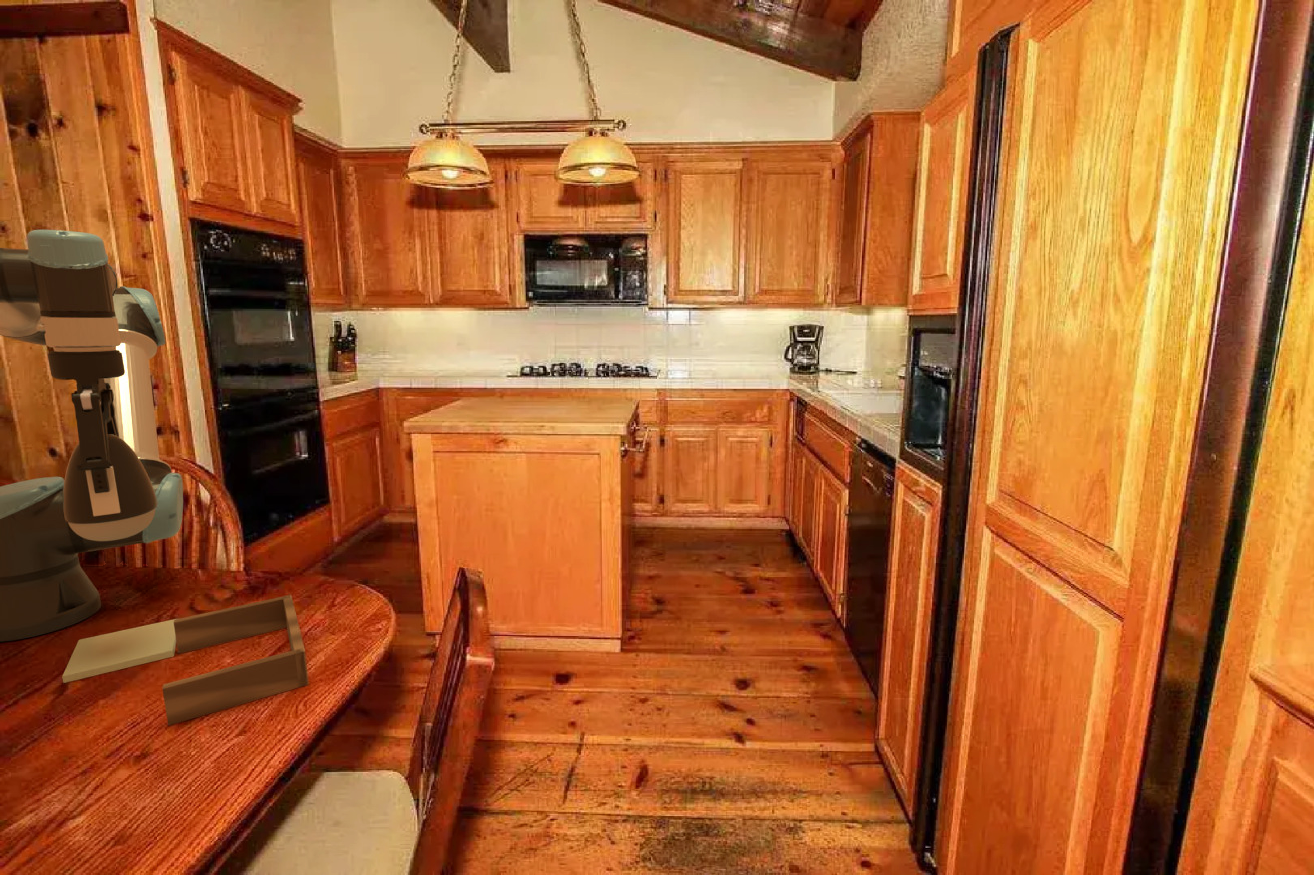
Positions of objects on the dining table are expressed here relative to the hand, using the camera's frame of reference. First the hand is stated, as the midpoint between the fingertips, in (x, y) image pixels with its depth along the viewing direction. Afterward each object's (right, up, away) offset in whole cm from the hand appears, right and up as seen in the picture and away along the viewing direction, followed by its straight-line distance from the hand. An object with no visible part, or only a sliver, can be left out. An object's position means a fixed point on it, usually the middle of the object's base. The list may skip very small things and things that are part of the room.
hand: (111, 503), depth 87 cm
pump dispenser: (0, -5, +1) cm, 5 cm away
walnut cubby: (+19, -24, 0) cm, 30 cm away
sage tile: (-2, -23, +4) cm, 23 cm away
